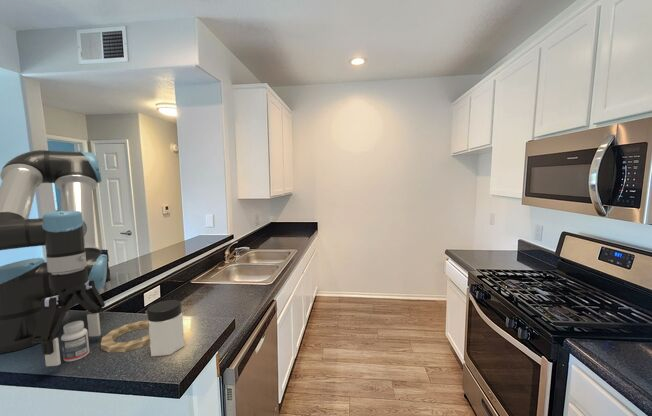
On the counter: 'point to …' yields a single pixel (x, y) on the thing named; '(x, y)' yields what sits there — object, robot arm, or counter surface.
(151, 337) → the jar
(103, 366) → the counter surface
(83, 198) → the robot arm
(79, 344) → the pill bottle
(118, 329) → the bead ring
